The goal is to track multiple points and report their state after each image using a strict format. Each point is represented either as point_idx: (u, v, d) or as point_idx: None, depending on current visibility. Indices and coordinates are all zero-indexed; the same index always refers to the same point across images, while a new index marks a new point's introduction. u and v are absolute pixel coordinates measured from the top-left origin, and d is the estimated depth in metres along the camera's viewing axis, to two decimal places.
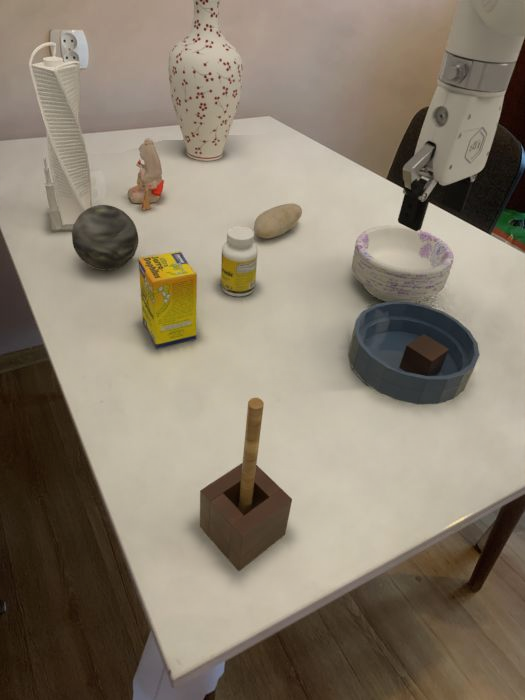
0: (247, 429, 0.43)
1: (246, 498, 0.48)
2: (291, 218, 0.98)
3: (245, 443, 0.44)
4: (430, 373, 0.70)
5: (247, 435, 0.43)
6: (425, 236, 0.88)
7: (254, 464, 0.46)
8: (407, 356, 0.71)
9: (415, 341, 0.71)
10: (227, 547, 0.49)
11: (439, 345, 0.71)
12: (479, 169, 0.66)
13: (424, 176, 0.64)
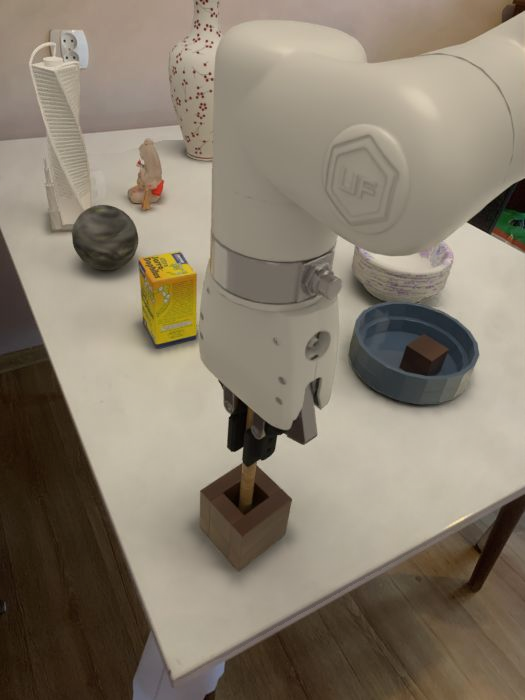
0: None
1: (246, 498, 0.48)
2: None
3: None
4: (430, 373, 0.70)
5: None
6: None
7: (254, 464, 0.46)
8: (407, 356, 0.71)
9: (415, 341, 0.71)
10: (227, 547, 0.49)
11: (439, 345, 0.71)
12: None
13: None
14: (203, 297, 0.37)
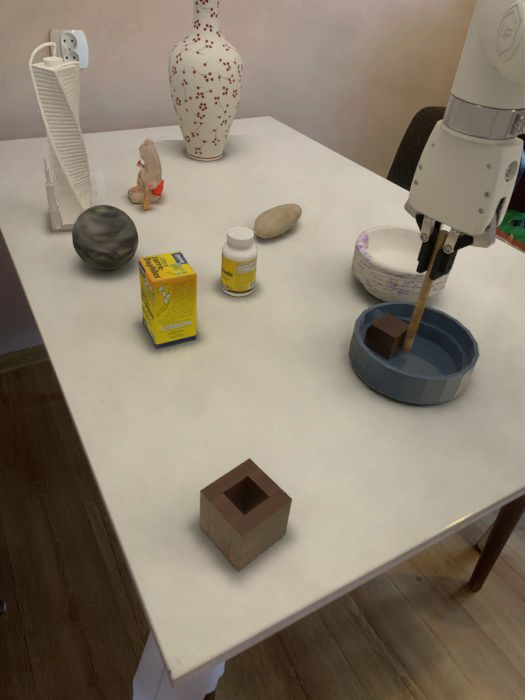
0: (434, 253, 0.64)
1: (419, 315, 0.70)
2: (291, 218, 0.98)
3: (429, 266, 0.65)
4: (394, 350, 0.73)
5: (433, 258, 0.65)
6: None
7: (431, 284, 0.67)
8: (372, 334, 0.74)
9: (379, 320, 0.74)
10: (227, 547, 0.49)
11: (402, 323, 0.74)
12: None
13: None
14: (426, 152, 0.58)
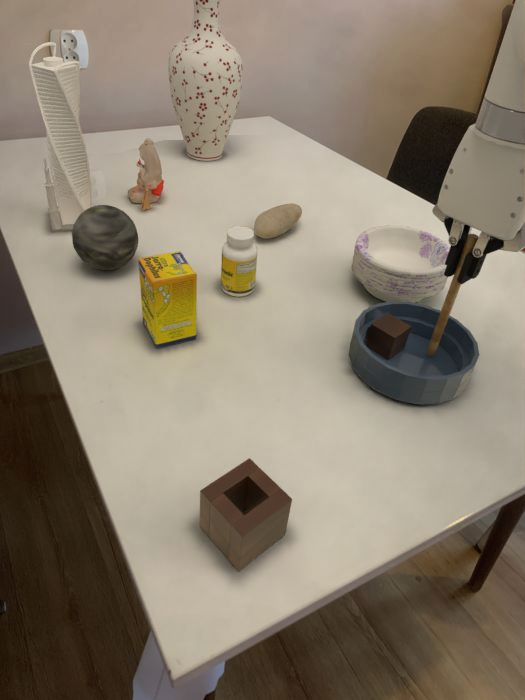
0: (463, 257, 0.64)
1: (445, 319, 0.70)
2: (291, 218, 0.98)
3: (457, 269, 0.66)
4: (394, 350, 0.73)
5: (462, 262, 0.65)
6: (425, 235, 0.88)
7: (459, 288, 0.67)
8: (372, 334, 0.74)
9: (379, 320, 0.74)
10: (227, 547, 0.49)
11: (402, 323, 0.74)
12: None
13: None
14: (457, 156, 0.59)
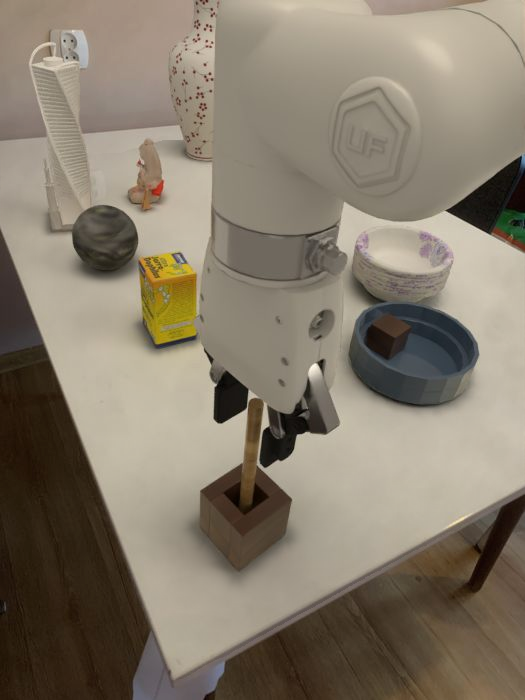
0: (247, 429, 0.43)
1: (247, 498, 0.48)
2: None
3: (245, 443, 0.44)
4: (394, 350, 0.73)
5: (248, 435, 0.43)
6: (425, 235, 0.88)
7: (254, 464, 0.46)
8: (372, 334, 0.74)
9: (379, 320, 0.74)
10: (227, 547, 0.49)
11: (402, 323, 0.74)
12: None
13: None
14: (204, 277, 0.36)
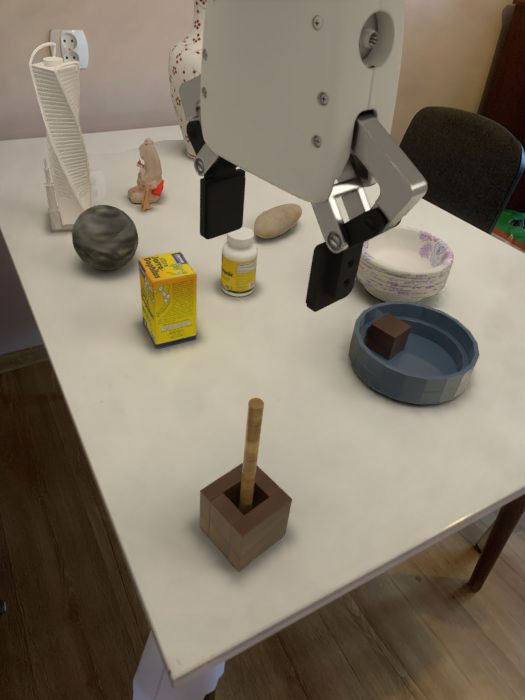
0: (247, 429, 0.43)
1: (247, 498, 0.48)
2: (291, 218, 0.98)
3: (245, 443, 0.44)
4: (394, 350, 0.73)
5: (248, 435, 0.43)
6: (425, 235, 0.88)
7: (254, 464, 0.46)
8: (372, 334, 0.74)
9: (379, 320, 0.74)
10: (227, 547, 0.49)
11: (402, 323, 0.74)
12: None
13: None
14: (207, 16, 0.26)
